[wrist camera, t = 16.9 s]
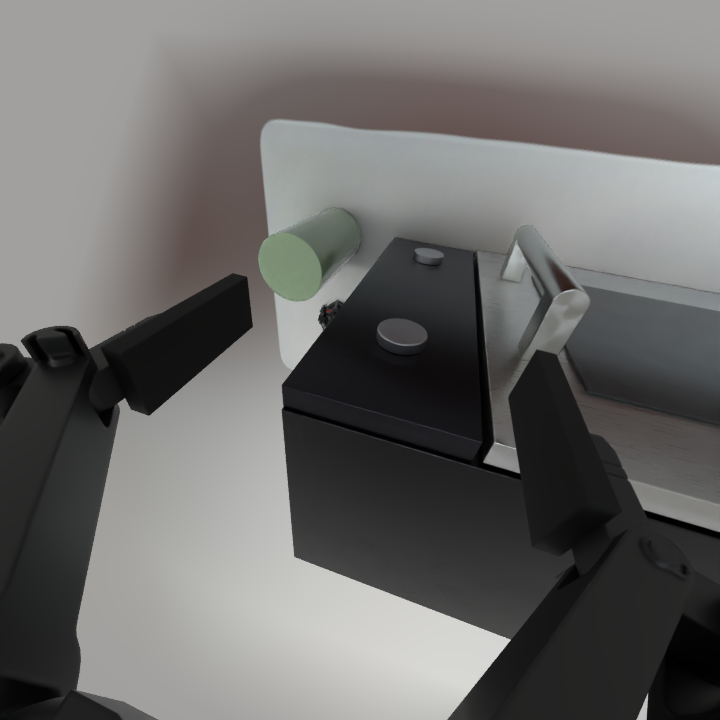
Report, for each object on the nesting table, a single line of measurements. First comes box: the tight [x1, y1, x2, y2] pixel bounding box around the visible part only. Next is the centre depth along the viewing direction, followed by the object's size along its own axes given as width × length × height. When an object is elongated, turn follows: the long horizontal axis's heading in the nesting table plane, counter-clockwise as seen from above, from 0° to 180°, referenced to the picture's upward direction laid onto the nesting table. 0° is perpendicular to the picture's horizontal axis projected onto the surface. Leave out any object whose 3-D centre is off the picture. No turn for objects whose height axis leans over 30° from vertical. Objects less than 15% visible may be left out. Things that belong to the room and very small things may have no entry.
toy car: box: [318, 300, 342, 330], centre depth 49 cm, size 6×12×4 cm, turn 176°
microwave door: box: [473, 225, 720, 532], centre depth 22 cm, size 6×30×31 cm, turn 84°
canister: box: [259, 208, 361, 301], centre depth 36 cm, size 7×7×14 cm
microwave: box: [282, 237, 720, 639], centre depth 30 cm, size 22×40×31 cm, turn 84°
